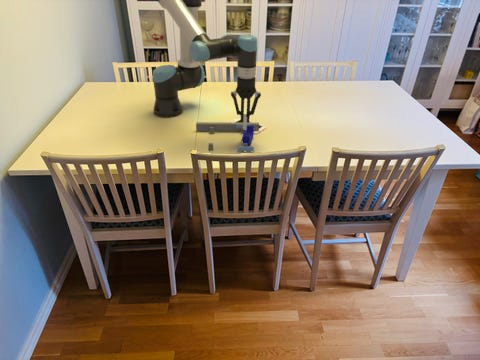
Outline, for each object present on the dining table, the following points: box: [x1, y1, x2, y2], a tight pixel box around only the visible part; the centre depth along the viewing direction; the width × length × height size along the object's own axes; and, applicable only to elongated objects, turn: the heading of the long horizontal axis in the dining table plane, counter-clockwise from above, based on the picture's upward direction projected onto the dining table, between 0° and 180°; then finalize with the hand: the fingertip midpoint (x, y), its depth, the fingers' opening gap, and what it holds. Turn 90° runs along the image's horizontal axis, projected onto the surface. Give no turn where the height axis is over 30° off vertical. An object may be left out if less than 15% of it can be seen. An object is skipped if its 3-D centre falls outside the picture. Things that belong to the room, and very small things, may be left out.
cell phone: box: [229, 117, 267, 135], centre depth 168 cm, size 9×18×1 cm, turn 51°
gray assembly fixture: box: [195, 121, 260, 153], centre depth 153 cm, size 30×22×4 cm
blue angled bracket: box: [241, 125, 255, 146], centre depth 152 cm, size 12×4×6 cm, turn 169°
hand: (244, 128), depth 151 cm, fingers closed
